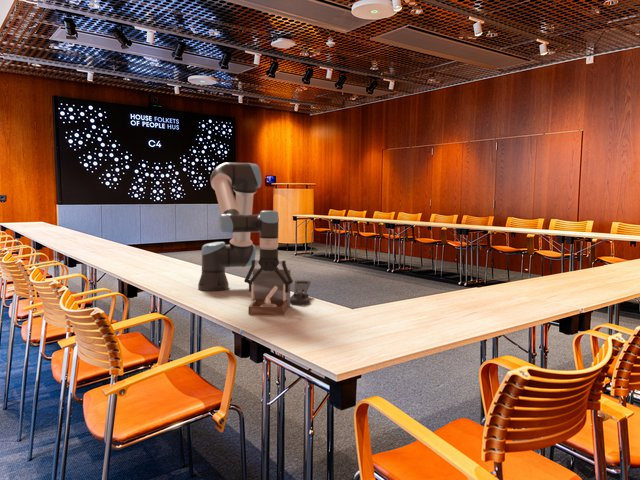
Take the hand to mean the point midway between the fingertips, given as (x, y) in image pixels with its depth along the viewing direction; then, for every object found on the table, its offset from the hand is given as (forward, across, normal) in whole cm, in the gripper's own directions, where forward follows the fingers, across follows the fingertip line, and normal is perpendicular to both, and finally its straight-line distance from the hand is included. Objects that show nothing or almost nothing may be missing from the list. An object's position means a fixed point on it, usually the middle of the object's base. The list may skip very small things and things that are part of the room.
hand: (268, 299), depth 198 cm
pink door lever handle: (+4, 0, 0) cm, 4 cm away
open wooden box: (+5, 0, +1) cm, 5 cm away
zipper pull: (+5, +11, +25) cm, 27 cm away
